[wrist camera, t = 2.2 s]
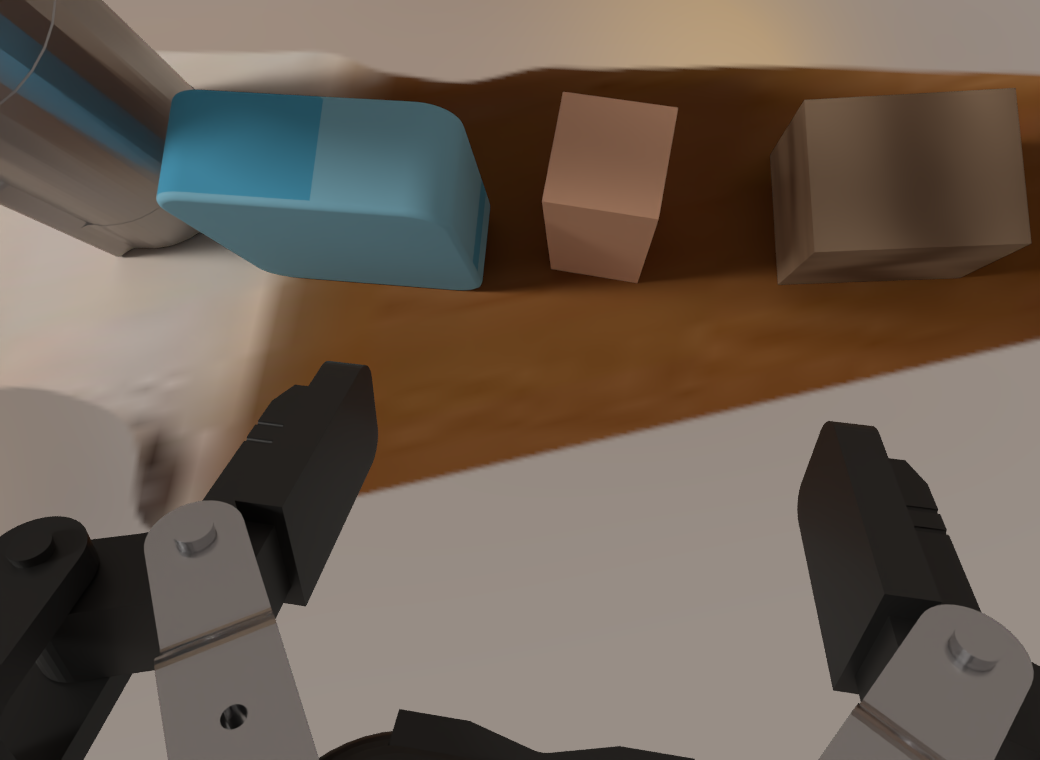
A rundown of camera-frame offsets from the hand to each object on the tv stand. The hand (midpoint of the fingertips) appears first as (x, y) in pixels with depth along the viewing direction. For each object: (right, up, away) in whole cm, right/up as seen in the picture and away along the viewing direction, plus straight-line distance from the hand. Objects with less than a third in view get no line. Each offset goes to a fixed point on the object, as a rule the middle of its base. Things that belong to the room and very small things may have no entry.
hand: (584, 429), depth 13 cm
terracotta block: (+3, +9, +25) cm, 27 cm away
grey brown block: (+17, +9, +24) cm, 31 cm away
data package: (-9, +8, +26) cm, 29 cm away
